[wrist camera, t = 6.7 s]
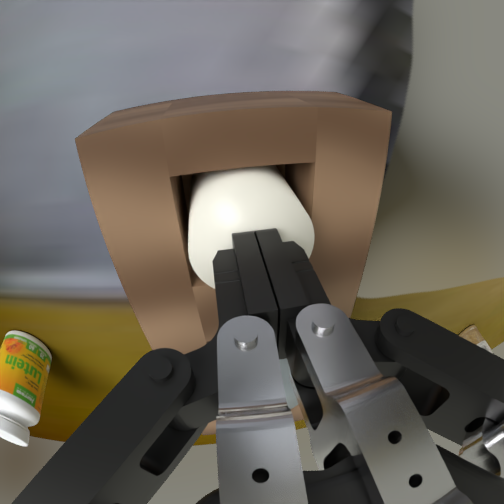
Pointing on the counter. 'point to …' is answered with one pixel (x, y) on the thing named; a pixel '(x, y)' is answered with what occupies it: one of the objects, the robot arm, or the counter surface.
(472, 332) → the sprinkles bottle
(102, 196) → the button panel
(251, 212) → the cream button
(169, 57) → the counter surface
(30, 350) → the supplement bottle
